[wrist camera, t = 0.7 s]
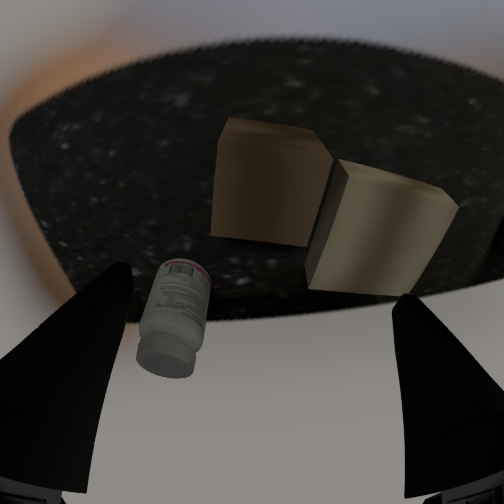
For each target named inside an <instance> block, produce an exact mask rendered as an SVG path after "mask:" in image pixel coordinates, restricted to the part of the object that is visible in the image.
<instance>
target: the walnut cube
mask: <svg viewBox="0 0 504 504" xmlns="http://www.w3.org/2000/svg"><path fill="white" fill-rule="evenodd" d="M332 162H333V158H332V156H331V155H330V153H329V152H328V151H327V149H326V148H325V146H324V145H323V143H322V142H321V141H320V139H319V138H318V137H317V135H316V134H315V132H314V131H313V130H308V129H303V128H298V127H293V126H287V125H282V124H276V123H270V122H263V121H256V120H249V119H241V118H232V117H229V118H228V120H227V123H226V125H225V127H224V129H223V131H222V134H221V136H220V138H219V140H218V149H217V159H216V170H215V182H214V194H213V207H212V221H211V235H212V236H220V237H229V238H237V239H245V240H253V241H262V242H270V243H278V244H286V245H294V246H302V247H306V246H307V243H308V240H309V237H310V234H311V231H312V228H313V225H314V222H315V218H316V215H317V212H318V209H319V206H320V202H321V199H322V196H323V192H324V189H325V186H326V182H327V179H328V176H329V172H330V169H331V165H332Z"/></svg>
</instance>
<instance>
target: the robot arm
mask: <svg viewBox="0 0 504 504" xmlns="http://www.w3.org/2000/svg"><path fill="white" fill-rule="evenodd" d="M494 243H495V245H496V246H499V247H502V248H504V224H503V225H502V227H501V229H500V231H499V233H498V234H497V236H496V238H495V240H494ZM133 289H134V280H133V275H132V270H131V266H130V264H129V263H126V262H119V261H118V262H116V263H114V264H113V265H112V266H110V267H109V268H108V269H106V270H105V271H104V272H103V273H101V274H100V275H99V276H97V277H96V278H95V279H94V280H92V281H91V282H90V283H89V284H87V285H86V286H85V287H84V288H83V289H81V290H80V291H79V292H78V293H76V294H75V295H74V296H73V297H72V298H70V299H69V300H68V301H67V302H66V303H65V304H63V305H62V306H61V307H60V308H59V309H58V310H56V311H55V312H54V313H53V314H52V315H51V316H50V317H48V318H47V319H46V320H45V321H44V322H43V323H42V324H41V325H40V326H39V327H38V328H36V329H35V330H34V331H33V332H32V333H31V334H29V335H28V336H27V337H26V338H25V339H24V340H23V341H22V342H21V343H19V344H18V345H17V346H16V347H15V348H14V349H12V350H11V351H10V352H9V353H8V354H6V355H5V356H4V357H3V358H1V359H0V504H66V503H65V501H64V500H63V498H62V497H61V495H62V491H68V492H76V493H85V494H86V492H87V486H88V479H89V472H90V466H91V459H92V454H93V449H94V442H95V438H96V433H97V428H98V424H99V419H100V414H101V410H102V406H103V402H104V398H105V394H106V390H107V387H108V383H109V379H110V375H111V372H112V368H113V365H114V361H115V358H116V355H117V352H118V348H119V345H120V342H121V339H122V336H123V332H124V329H125V324H126V319H127V315H128V310H129V306H130V302H131V297H132V293H133ZM392 320H393V332H394V344H395V355H396V361H397V367H398V375H399V382H400V391H401V400H402V411H403V423H404V441H405V491H404V497H405V499H407V498H413V497H418V496H423V495H428V494H433V493H437V492H440V493H438V494H436V495H434V496H432V497H429V498H427V499H425V501H424V503H423V504H504V391H503V390H502V388H501V387H499V385H498V384H497V383H496V382H495V381H494V380H493V379H492V378H491V377H490V376H489V374H488V373H487V372H486V371H485V370H484V369H483V367H482V366H481V365H480V364H479V363H478V362H477V360H475V358H474V357H473V356H472V355H471V354H470V352H469V351H468V350H467V349H466V348H465V347H464V346H463V344H462V343H461V342H460V341H459V340H458V339H457V338H456V337H455V336H454V335H453V333H452V332H450V330H449V329H448V328H447V327H446V326H445V325H444V324H443V323H442V322H441V321H440V320H439V319H438V318H437V316H436V315H435V314H434V313H433V312H432V311H430V309H429V308H428V307H426V305H424V303H423V302H422V301H421V300H420V299H419V298H418V297H417V296H416V295H414V294H411V293H404V294H403V295H402V296H401V297H400V299H399V300H398V302H397V303H396V305H395V306H394V307H393V310H392Z"/></svg>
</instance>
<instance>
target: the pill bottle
mask: <svg viewBox="0 0 504 504" xmlns="http://www.w3.org/2000/svg"><path fill="white" fill-rule="evenodd" d="M210 290H211V279H210V276H209V274H208V273H207V271H206V270H205V269H204V268H203V267H202V266H201V265H199V264H198V263H196V262H194V261H191V260H188V259H172V260H169V261H166V262H165V263H163V264H162V265H161V266H160V267H159V269H158V271H157V273H156V276H155V280H154V283H153V286H152V289H151V292H150V295H149V298H148V301H147V304H146V307H145V310H144V312H143V315H142V318H141V321H140V325H139V334H140V337H141V340H140V342H139V345H138V350H137V355H136V360H137V362H138V363H139V365H140V366H141V367H142V368H144V369H145V370H147V371H149V372H151V373H153V374H156V375H158V376H162V377H167V378H186V377H189V376H190V375H191V374H192V373H193V371H194V366H195V361H196V352H198V351H199V349H200V348H201V346H202V343H203V338H204V331H205V324H206V316H207V309H208V303H209V296H210Z"/></svg>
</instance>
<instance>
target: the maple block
mask: <svg viewBox="0 0 504 504" xmlns="http://www.w3.org/2000/svg"><path fill="white" fill-rule="evenodd" d="M458 208H459V206H458V205H457V204H456V203H455V202H454V201H453V200H452V199H451V198H450V197H449V196H448V195H447V194H446V193H445V192H444V191H443V190H442V189H441V188H438V187H435V186H432V185H429V184H426V183H423V182H420V181H417V180H414V179H410V178H407V177H404V176H401V175H397V174H394V173H390V172H387V171H383V170H380V169H376V168H372V167H368V166H364V165H360V164H356V163H352V162H348V161H344V160H339V159H338V160H337V164H336V167H335V171H334V174H333V177H332V181H331V184H330V187H329V191H328V194H327V197H326V200H325V204H324V207H323V210H322V213H321V216H320V219H319V223H318V226H317V229H316V232H315V235H314V238H313V241H312V244H311V247H310V250H309V253H308V256H307V258H306V261H305V264H304V267H305V272H306V278H307V284H308V289H315V290H327V291H338V292H351V293H363V294H377V295H392V296H402V295H403V294H404V293H409V292H410V291H411V289H412V288H413V286H414V285H415V283H416V282H417V280H418V278H419V277H420V275H421V274H422V272H423V271H424V269H425V267H426V266H427V264H428V263H429V261H430V259H431V258H432V256H433V254H434V253H435V251H436V249H437V247H438V246H439V244H440V242H441V240H442V239H443V237H444V235H445V233H446V231H447V229H448V228H449V226H450V224H451V222H452V220H453V218H454V216H455V214H456V212H457V210H458Z"/></svg>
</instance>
